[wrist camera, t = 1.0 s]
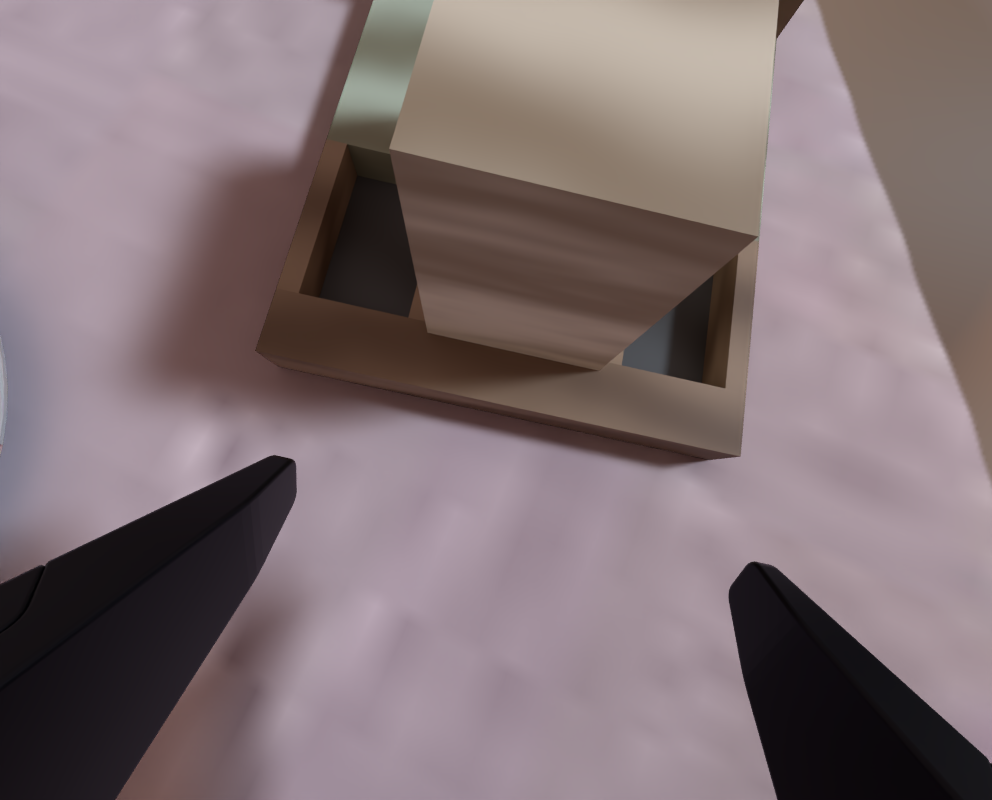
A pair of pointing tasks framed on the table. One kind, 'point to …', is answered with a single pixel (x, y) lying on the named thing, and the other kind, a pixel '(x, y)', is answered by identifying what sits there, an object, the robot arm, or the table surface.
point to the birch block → (580, 164)
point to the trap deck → (470, 366)
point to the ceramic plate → (3, 395)
